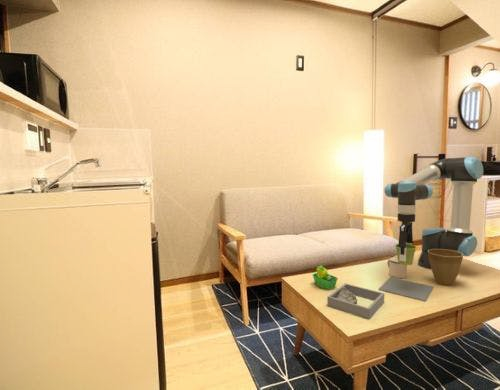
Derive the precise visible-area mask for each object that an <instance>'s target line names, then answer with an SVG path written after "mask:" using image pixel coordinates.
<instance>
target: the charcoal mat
mask: <svg viewBox="0 0 500 390" xmlns="http://www.w3.org/2000/svg"><path fill="white" fill-rule="evenodd" d="M434 287H435V286H433V285H429V284H425V283H419V282H415V281H412V280H411V281H410V280H406V279H403V278H396V277H392V276H390V277H389V278H388V279H386V280H385V282H384V283H383V284H382V285H381V286H380V287H378V291H380V292H385V293H389V294H393V295H397V296H401V297H405V298H409V299H414V300H417V301H421V302H427V300H428V298H429V297H430V295H431V292H432V291H433V289H434Z"/></svg>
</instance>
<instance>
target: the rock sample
mask: <svg viewBox="0 0 500 390" xmlns="http://www.w3.org/2000/svg"><path fill="white" fill-rule="evenodd" d="M347 289H348V288H347ZM347 289H346V288H345V287H343V288H342V289H341V291H340V293H339V295H338V296H337V299H340V300H344V301H347V302H350V303H354V304H357V305H358V299H357V297H356V296H357V295H354V294H353V293H351V292H350V291H348V290H347Z"/></svg>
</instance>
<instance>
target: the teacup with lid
mask: <svg viewBox="0 0 500 390" xmlns="http://www.w3.org/2000/svg"><path fill="white" fill-rule="evenodd" d="M386 264H387V266H388V268H389V275H390V277H393V278H397V279H405V278H407V276H408V265H406V264H404V265H402V264H400V263H399V262H398V256H397V254H396V255H395V256H392V257H390V258H389V259H388V260H387V262H386Z"/></svg>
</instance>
